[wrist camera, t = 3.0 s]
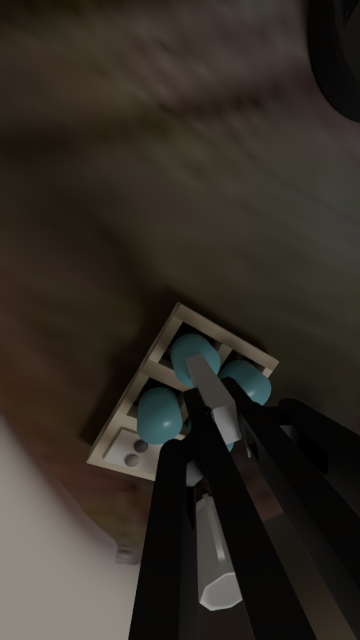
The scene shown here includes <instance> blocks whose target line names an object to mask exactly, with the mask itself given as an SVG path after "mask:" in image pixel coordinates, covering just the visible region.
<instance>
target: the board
mask: <svg viewBox="0 0 360 640" xmlns="http://www.w3.org/2000/svg"><path fill="white" fill-rule="evenodd" d="M182 322H185V323H187V324H189V325H191V326H192V327H194V328H196V329H198V330H200V331H201V332H203V333H205V334H207V335H208V336H210V337H212V338H214V339H215V340H214V342H213V343H212V345H211V346H212V347H213V348H214V349H215V350H216V351H217V353H218V355H219V357H220V367H221V366H222V364H223V363H224V361H225V360H226V358H227V357H228V355H229V354H230V352H231V351H232V349H234V350H235V351H237V352H239V353H241V354H242V355H244V356H246V357H248V358H250V359H251V360H253V361H255V363H254V364H253V366H254V367H255V368H256V369H258V370H259V371H260V372H261V373H262V374H263V375H264V376H266V377H267V378H268V377H269V375H270V374H271V373H272V371H273V370H274V368H275V367H276V366H277V364H278V363H279V361H277V360H276V359H274V358H273V357H271V356H270V355H268V354H267V353H265V352H263V351H262V350H260V349H258V348H256V347H255V346H253V345H251V344H250V343H248V342H246V341H245V340H243V339H241V338H239V337H238V336H236V335H234V334H233V333H231V332H229V331H228V330H226V329H224V328H222V327H221V326H219V325H217V324H216V323H214V322H212V321H211V320H209V319H207V318H205V317H204V316H202V315H200V314H199V313H197V312H195V311H194V310H192V309H190V308H188V307H187V306H185V305H183V304H182V303H180V302H177V304H176V305H175V307H174V309H173V310H172V312H171V314H170V315H169V317H168V319H167V320H166V322H165V324H164V326H163V327H162V329H161V331H160V332H159V334H158V336H157V337H156V339H155V341H154V342H153V344H152V346H151V347H150V349H149V351H148V352H147V354H146V356H145V358H144V359H143V361H142V363H141V364H140V366H139V368H138V369H137V371H136V373H135V374H134V376H133V378H132V379H131V381H130V383H129V385H128V386H127V388H126V390H125V391H124V393H123V395H122V396H121V398H120V400H119V401H118V403H117V405H116V406H115V408H114V410H113V411H112V413H111V415H110V417H109V418H108V420H107V422H106V423H105V425H104V427H103V428H102V430H101V432H100V433H99V435H98V437H97V438H96V440H95V442H94V444H93V445H92V447H91V450H90V453H89V456H88V459H87V462H86V463H89V464H93V465H97V466H100V467H104V468H108V469H112V470H115V471H119V472H123V473H127V474H130V475H134V476H138V477H142V478H145V479H149V480H153V481H155V476H156V470H157V464H158V458H159V452H160V449H161V447H162V446H163V444H158V445H154V444H149V443H146V442H145V441H143V440H142V439H141V438H140V437H139V435H138V433H137V416H138V406H135V405H133V403H134V401H135V400H136V398H137V396H138V395H139V393H140V391H141V390H142V388H143V386H144V385H145V383H146V381H147V380H148V378H149V377H151V378H153V379H155V380H158V381H160V382H162V383H164V384H167V385H169V386H171V387H174V388H176V389H178V390H180V391H181V393H180V395H179V396H178V398H177V400H178V404H179V409H180V413H181V417H182V428H181V431H180V432H179V434H178V435H177V436H176V437H175V438H174V439H179V440H182V439H183V438H184V437H186V436H187V435H188V433H189V429H188V425H185V424H183V423H184V421H185V420H186V418H187V417H188V412H187V409H186V405H185V401H184V398H183V395H184V391H186V390H189V389H192V388H194V387H189V386H186V385H184V384H182V383H181V382H180V381H179V380H178V379H177V377H176V375H175V372H174V368H173V364H172V362H170V361H168V360H166V359H164V358H162V355H163V353H164V352H165V350H166V348H167V347H168V345H169V344H170V342H171V340H172V339H173V337H174V335H175V334H176V332H177V330H178V329H179V327H180V325H181V324H182Z"/></svg>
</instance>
